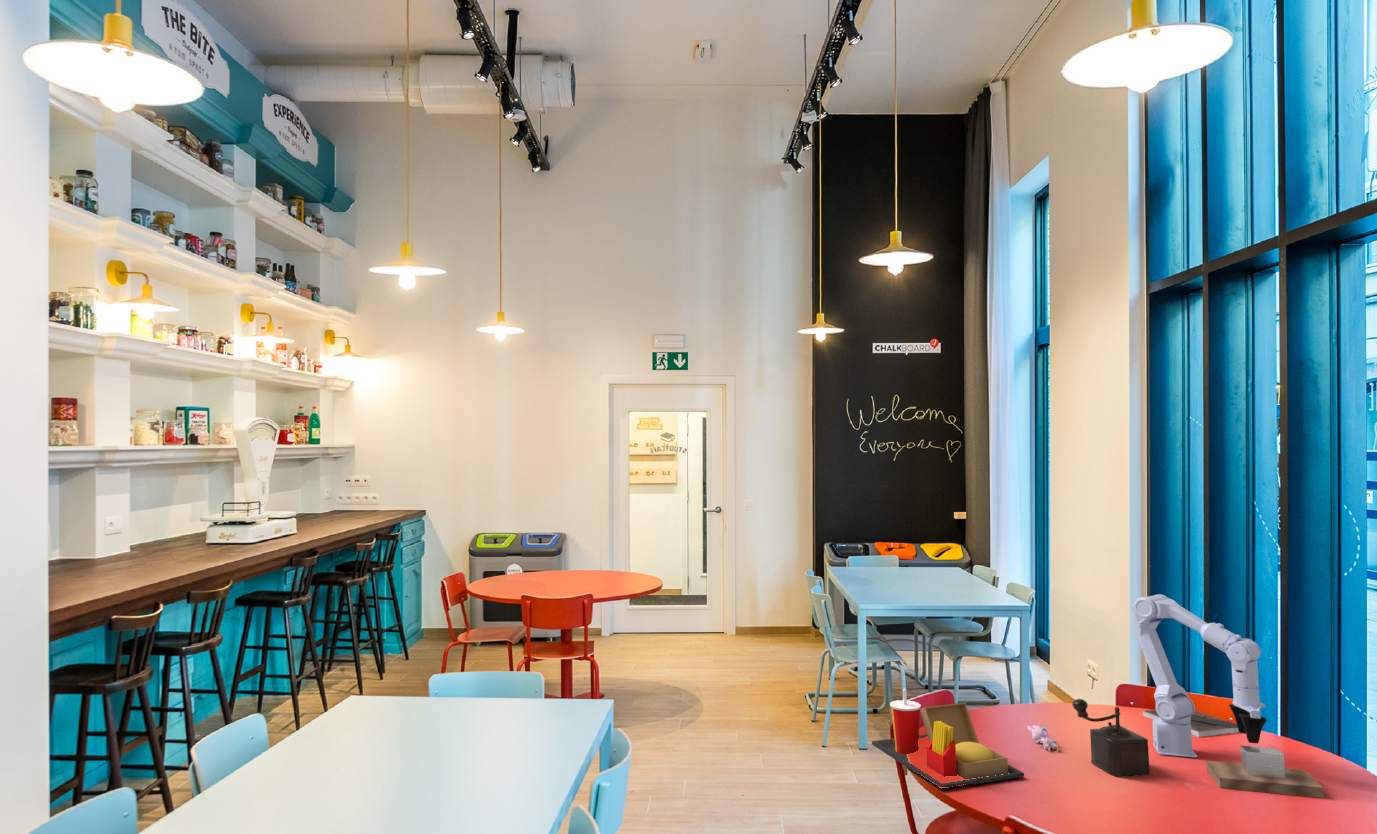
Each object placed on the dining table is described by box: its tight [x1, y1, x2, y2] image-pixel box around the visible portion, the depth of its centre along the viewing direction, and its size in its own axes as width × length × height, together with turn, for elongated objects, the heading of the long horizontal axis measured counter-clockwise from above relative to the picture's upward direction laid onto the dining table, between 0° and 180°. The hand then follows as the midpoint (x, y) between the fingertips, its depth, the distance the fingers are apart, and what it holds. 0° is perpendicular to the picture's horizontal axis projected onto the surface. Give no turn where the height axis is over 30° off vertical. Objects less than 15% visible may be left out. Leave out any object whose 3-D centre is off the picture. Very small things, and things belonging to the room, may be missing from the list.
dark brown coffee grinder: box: [1071, 698, 1151, 778], centre depth 215 cm, size 16×11×18 cm
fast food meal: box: [871, 688, 1025, 787], centre depth 222 cm, size 25×35×18 cm
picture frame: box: [1142, 709, 1240, 738], centre depth 250 cm, size 16×2×22 cm
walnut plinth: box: [1206, 760, 1326, 799], centre depth 202 cm, size 22×12×2 cm, turn 70°
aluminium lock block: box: [1240, 745, 1286, 779], centre depth 203 cm, size 8×4×6 cm, turn 70°
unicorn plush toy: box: [1026, 725, 1060, 752], centre depth 234 cm, size 6×6×15 cm
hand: (1248, 737), depth 209 cm, fingers open, 7 cm apart
